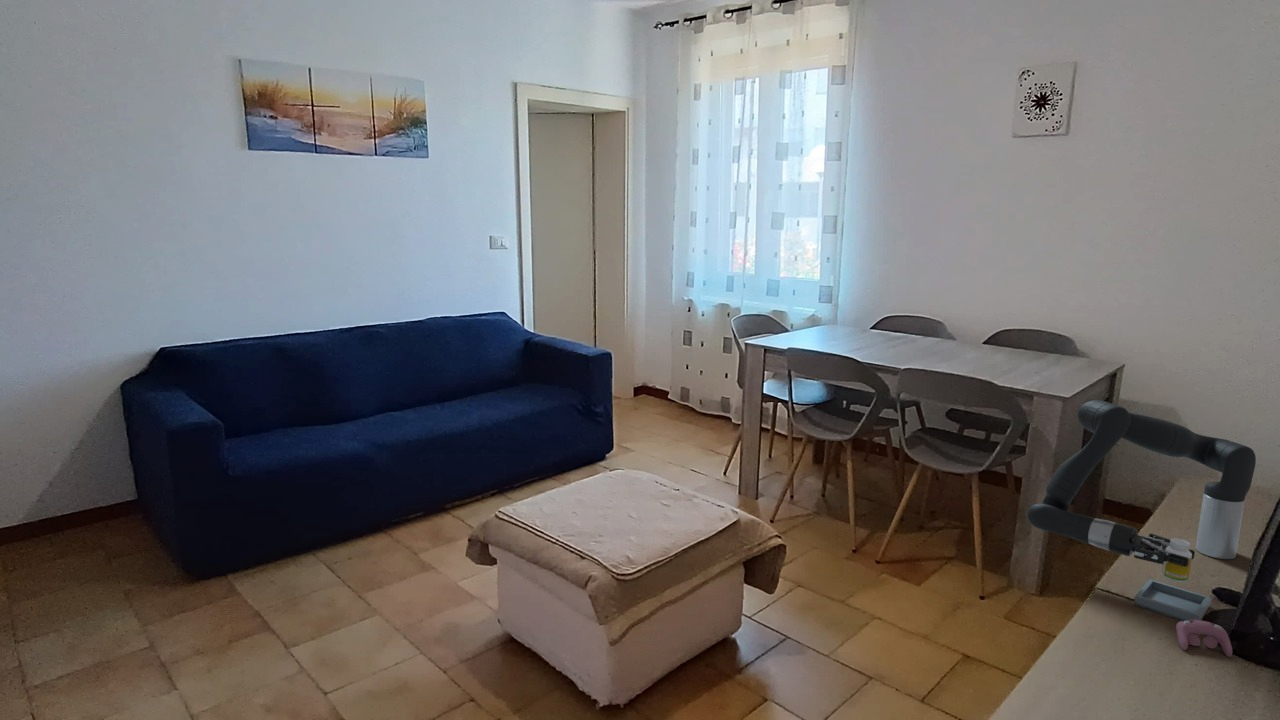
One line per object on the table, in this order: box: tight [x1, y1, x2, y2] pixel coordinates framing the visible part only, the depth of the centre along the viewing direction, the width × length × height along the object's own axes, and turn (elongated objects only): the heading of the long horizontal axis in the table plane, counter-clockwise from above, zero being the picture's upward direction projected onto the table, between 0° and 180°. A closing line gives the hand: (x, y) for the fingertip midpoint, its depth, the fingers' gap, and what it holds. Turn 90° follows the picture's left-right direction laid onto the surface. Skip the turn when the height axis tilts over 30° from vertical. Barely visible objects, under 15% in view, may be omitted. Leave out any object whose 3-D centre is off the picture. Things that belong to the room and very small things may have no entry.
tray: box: [1133, 578, 1212, 621], centre depth 182 cm, size 13×13×2 cm
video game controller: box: [1175, 620, 1233, 657], centre depth 164 cm, size 10×5×7 cm, turn 72°
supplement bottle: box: [1161, 537, 1193, 584], centre depth 180 cm, size 5×5×10 cm
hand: (1190, 558), depth 178 cm, fingers closed on supplement bottle, 5 cm apart
